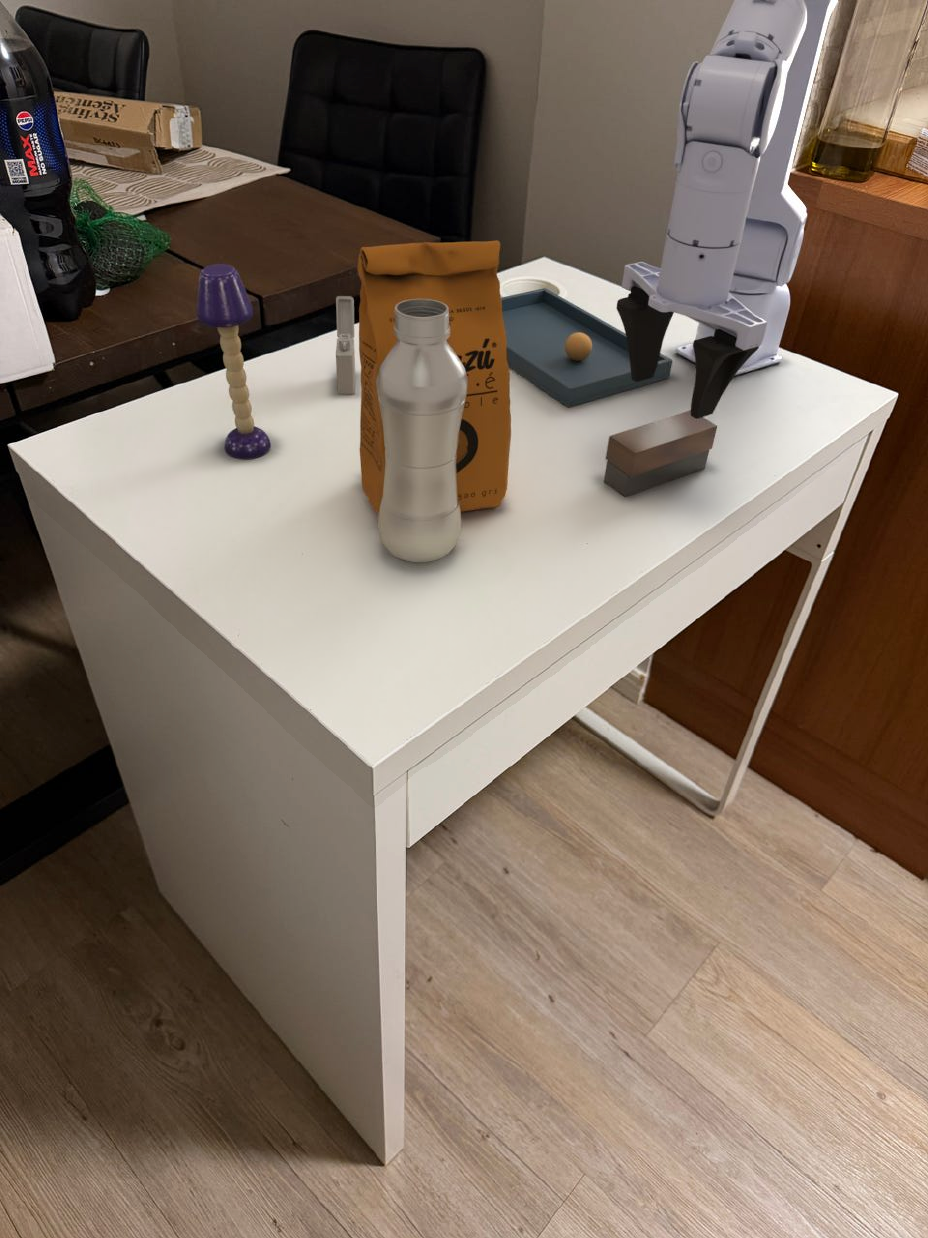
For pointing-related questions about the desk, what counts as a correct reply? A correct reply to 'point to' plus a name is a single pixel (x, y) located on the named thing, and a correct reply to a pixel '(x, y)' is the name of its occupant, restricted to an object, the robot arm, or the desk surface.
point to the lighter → (345, 345)
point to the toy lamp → (232, 352)
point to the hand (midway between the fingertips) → (671, 395)
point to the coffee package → (475, 337)
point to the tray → (540, 349)
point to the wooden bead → (578, 346)
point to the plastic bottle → (421, 434)
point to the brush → (658, 452)
